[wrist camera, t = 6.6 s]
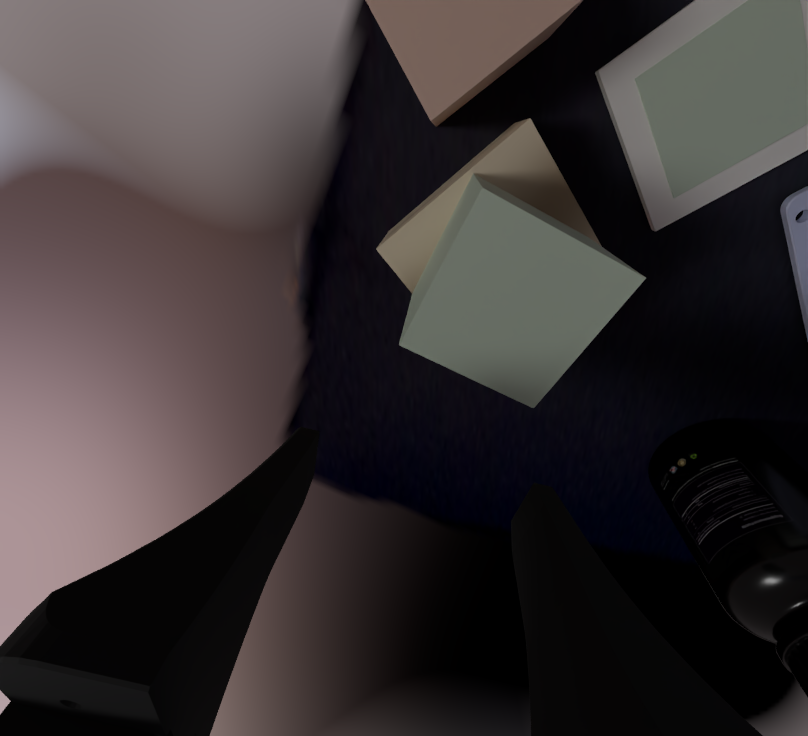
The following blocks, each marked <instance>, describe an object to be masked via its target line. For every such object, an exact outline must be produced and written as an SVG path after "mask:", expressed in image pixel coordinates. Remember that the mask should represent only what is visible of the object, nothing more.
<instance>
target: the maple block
mask: <svg viewBox="0 0 808 736" xmlns="http://www.w3.org/2000/svg"><path fill="white" fill-rule="evenodd" d="M473 174H475V175H477V176H479V177H481V178H482V179H484V180H486V181H488V182H490V183H491V184H493V185H495V186H497V187H499V188H501V189H502V190H504V191H506V192H508V193H510V194H511V195H513V196H515V197H517V198H519V199H520V200H522V201H524V202H526V203H528V204H529V205H531V206H533V207H535V208H537V209H538V210H540V211H542V212H544V213H546V214H547V215H549V216H551V217H553V218H555V219H556V220H558V221H560V222H562V223H564V224H565V225H567V226H569V227H571V228H573V229H574V230H576V231H578V232H580V233H582V234H583V235H585V236H587V237H589V238H590V239H591V240H593V241H594V242H596V243H597V244H599V245H600V246H601V244H600V242H599V241H598V239H597V237H596V235H595V233H594V232H593V230H592V228H591V226H590V224H589V223H588V221H587V219H586V217H585V215H584V214H583V212H582V210H581V208H580V207H579V205H578V203H577V201H576V199H575V198H574V196H573V194H572V192H571V190H570V189H569V187H568V185H567V183H566V181H565V180H564V178H563V176H562V174H561V172H560V171H559V169H558V167H557V165H556V163H555V162H554V160H553V158H552V156H551V154H550V153H549V151H548V149H547V147H546V145H545V144H544V142H543V140H542V138H541V136H540V135H539V133H538V131H537V129H536V127H535V126H534V124H533V122H532V120H531V119H530V118H529V119H526V120H523V121H520V122H516V123H514V124H513V125H512V126H510V127H509V128H508V129H507V130H506V131H505V132H504V133H502V134H501V135H500V136H499V137H498V138H497V139H495V140H494V141H493V142H492V143H491V144H490V145H488V146H487V147H486V148H485V149H484V150H483V151H481V152H480V153H479V154H478V155H477V156H476V157H474V158H473V159H472V160H471V161H470V162H469V163H467V164H466V165H465V166H464V167H463V168H462V169H460V170H459V171H458V172H457V173H456V174H455V175H454V176H452V177H451V178H450V179H449V180H448V181H447V182H445V183H444V184H443V185H442V186H441V187H440V188H438V189H437V190H436V191H435V192H434V193H433V194H431V195H430V196H429V197H428V198H427V199H426V200H424V201H423V202H422V203H421V204H420V205H419V206H417V207H416V208H415V209H414V210H413V211H412V212H411V213H409V214H408V215H407V216H406V217H405V218H404V219H402V220H401V221H400V222H399V223H398V224H397V225H395V226H394V227H393V228H392V229H391V230H390V231H389V232H388V233H387V235H386V236H385V237H384V239H383V240H382V242H381V243H380V244H379V246H378V247H377V249H376V250H377V251H378V252H379V253H380V255H381V256H382V257H383V258H384V260H385V261H386V262H387V263H388V264H389V266H390V267H391V268H392V269H393V271H394V272H395V273H396V274H397V275H398V277H399V278H400V279H401V280H402V282H403V283H404V284H405V285H406V287H407V288H408V289H409V290H410V291H411V293H412V294H413V291H414V289H415V287H416V285H417V283H418V281H419V279H420V277H421V275H422V273H423V271H424V269H425V267H426V265H427V263H428V261H429V259H430V257H431V255H432V253H433V251H434V249H435V247H436V245H437V243H438V241H439V240H440V238H441V236H442V234H443V232H444V230H445V228H446V226H447V224H448V222H449V220H450V218H451V216H452V214H453V212H454V210H455V208H456V206H457V204H458V202H459V200H460V198H461V196H462V194H463V192H464V190H465V188H466V186H467V185H468V183H469V181H470V179H471V177H472V175H473ZM601 247H602V246H601Z"/></svg>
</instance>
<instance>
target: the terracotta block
mask: <svg viewBox="0 0 808 736" xmlns="http://www.w3.org/2000/svg"><path fill="white" fill-rule="evenodd" d="M582 1H583V0H366V2H367V4H368V5H369V7H370V9H371V11H372V13H373V15H374V17H375V18H376V20H377V22H378V24H379V26H380V28H381V30H382V31H383V33H384V35H385V37H386V39H387V41H388V43H389V44H390V46H391V48H392V50H393V52H394V54H395V55H396V57H397V59H398V61H399V63H400V65H401V67H402V68H403V70H404V72H405V74H406V76H407V78H408V80H409V81H410V83H411V85H412V87H413V89H414V91H415V93H416V94H417V96H418V98H419V100H420V102H421V104H422V106H423V107H424V109H425V111H426V113H427V115H428V117H429V118H430V120H431V122H432V123H433V124H434V125H435V126H436V127H437V126H438V125H439V124H440V123H442V122H443V121H444V120H445V119H447V118H448V117H449V116H451V115H452V114H453V113H454V112H456V111H457V110H458V109H459V108H461V107H462V106H463V105H464V104H466V103H467V102H468V101H469V100H471V99H472V98H473V97H475V96H476V95H477V94H478V93H480V92H481V91H482V90H483V89H485V88H486V87H487V86H488V85H490V84H491V83H492V82H494V81H495V80H496V79H497V78H499V77H500V76H501V75H502V74H504V73H505V72H506V71H507V70H509V69H510V68H511V67H513V66H514V65H515V64H516V63H518V62H519V61H520V60H521V59H523V58H524V57H525V56H526V55H528V54H529V53H530V52H531V51H533V50H534V49H535V48H537V47H538V46H539V45H540V44H542V43H543V42H544V41H545V40H547V39H548V38H549V37H550V36H551V35H552V34H553V33H554V31H555V30H556V29H557V28H558V27H559V26H560V25H561V24H562V23H563V22H564V21H565V20H566V18H567V17H568V16H569V15H570V14H571V13H572V12H573V11H574V10H575V9H576V8H577V7H578V5H579V4H580V3H581V2H582Z"/></svg>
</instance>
